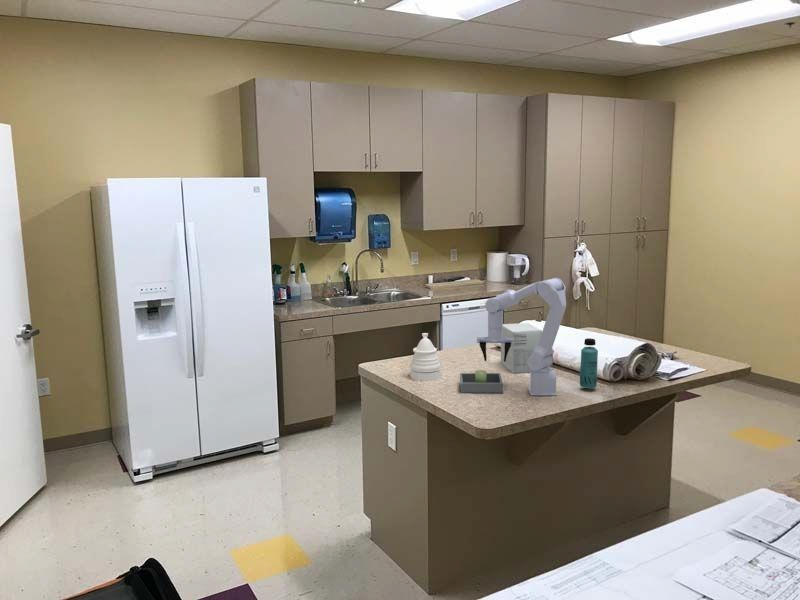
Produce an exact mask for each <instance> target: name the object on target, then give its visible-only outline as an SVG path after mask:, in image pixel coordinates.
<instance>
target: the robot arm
mask: <svg viewBox="0 0 800 600" xmlns="http://www.w3.org/2000/svg"><path fill="white" fill-rule="evenodd" d="M566 289H567V287H566V285H565V284H564V282H563V280H561V278H559V277H553V278H551V279H550V278H549V279H545V280H542V281H541V280H540V281H537V282H533V283H531V284H529V285H527V286H525V287H523V288H520V289H518V290H514V289H505V291H504V293H501V294H498V293H497V294H496V295H495V296H494V297H489V298H488V299H487V300H486V301H485V305H484V307H485V309H486V311H487V322H488V323H487V336H481V337H479V336H478V337H476V344H479V348H480V350H481V352H482V355H483V359H484V362H487V344H501V343H505V354H504V362H506V357H507V354H508V351H509V349H510V347H511V344H514V338H506V337H503V324H504V323H503V322H504V320H503V318H504V317H503V316H504V315H503V314H504V310H505V309H507V308H508V309H509V307H512V306H515V305H517V304H518V303H519V302H520V300H521V299H522V298H525V297H528V296H532V295H533V294H535V295H536V296H537V295H538V296H540V298H542V299H543V300H544V301H545V302H546V303H547V305H548V306H549V311H548V313H547V316H546V320H545V322H544V325H543V329H542V334H541V337H540V340H539V343H538V345H537V347H536V348H535V349H534V351H533V353H532V355H531V356H530V357H529V358H528V360H527V364H528V367H529V368H530V371H531V372H530V382H529V383H530V387H528V389H527V390H528V392H529V394H530V396H557V374H556V370H555V369H551V366H552V365H553V362H554V353H555V351H554V349H553V346H554V344H555V341H556V338H557V336H558V331H559V330H560V326H561V324H562V323H561V322H562V320H563V317H564V314H565V312H566V308H567V299H566Z"/></svg>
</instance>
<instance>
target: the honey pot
mask: <svg viewBox="0 0 800 600" xmlns="http://www.w3.org/2000/svg"><path fill="white" fill-rule="evenodd" d="M421 336H422V339H420V341H419V342H418V343H417V346H416V347H413V349H412V352H413V353H414V354H413V356H412V359H411V362H410V368H409V371H410V372H409V373H410V379H412V380H414V379H415V380H414V381H418V380H421V381H420V382H432V380H433V381H437V380H440V379H441V378H442V364H441V362H440V359H439V356H438V354H437V351H438V348H437V347H435V346H434V344H433V343H432V341H431V339H429V338H428V337H429V332H423V333H421Z"/></svg>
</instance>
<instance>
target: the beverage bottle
mask: <svg viewBox="0 0 800 600" xmlns="http://www.w3.org/2000/svg"><path fill="white" fill-rule="evenodd" d="M594 346H596V338H592V337H591V338H584V347H583V348H581V350H580V367H579V368H580V369H579V370H580V372H579V373H580V374H579V385H580V387H581V388H584V389H594V388H596V387H597V385H598V358H599V356H598V355H599V354H598V353H599V350H598V349H597V348H596V347H594Z"/></svg>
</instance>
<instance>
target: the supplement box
mask: <svg viewBox="0 0 800 600" xmlns="http://www.w3.org/2000/svg"><path fill="white" fill-rule="evenodd" d="M542 331H543V329H540V328H538V327H536V326H534V325H532V324H530V323H529V322H525V323H503V337H506V338H514V344H511V347H510V349H509V351H508V354H507V357H506V362H504V354H505V343H500V364H501V365H503V367H505V368H506V369H507V370H509V372H510V373H512V374H519V373H531V371H530V368H529V367H528V364H527V360H528V358H529V357H530V356H531V355H532V353H533V351H534V349H535V348H536V347H537V345H538V343H539V340H540V337H541V334H542Z"/></svg>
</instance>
